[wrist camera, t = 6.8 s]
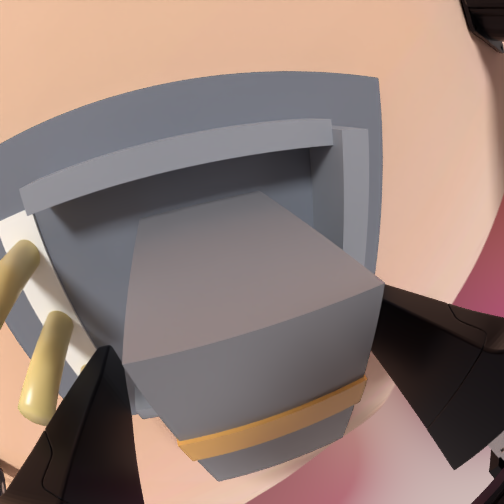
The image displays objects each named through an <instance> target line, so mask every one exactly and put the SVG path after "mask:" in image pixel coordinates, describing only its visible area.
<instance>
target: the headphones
mask: <svg viewBox="0 0 504 504" xmlns="http://www.w3.org/2000/svg"><path fill="white" fill-rule="evenodd" d="M5 491H6V484H5V478H4V473H3V471H2V469H1V468H0V496H1V495H2V494H3V493H4V492H5Z"/></svg>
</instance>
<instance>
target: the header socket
mask: <svg viewBox="0 0 504 504" xmlns="http://www.w3.org/2000/svg"><path fill="white" fill-rule="evenodd" d="M382 168H383V152H382V120H381V103H380V91H379V81H378V78H375V77H368V76H360V75H351V74H340V73H326V72H301V71H277V72H251V73H237V74H226V75H217V76H209V77H201V78H194V79H188V80H182V81H176V82H171V83H166V84H161V85H156V86H152V87H147V88H143V89H139V90H135V91H131V92H127V93H124V94H120V95H117V96H113V97H110V98H107V99H103V100H100V101H97V102H94V103H91V104H88V105H85V106H82V107H80V108H77V109H74V110H72V111H69V112H66V113H64V114H61V115H59V116H57V117H54V118H52V119H49V120H47V121H45V122H43V123H40V124H38V125H36V126H34V127H32V128H30V129H28V130H26V131H24V132H22V133H20V134H18V135H16V136H14V137H12V138H10V139H8V140H6V141H5V142H3V143H1V144H0V329H1V327H2V325H3V323H4V322H6V324H7V325H8V327H9V329H10V330H11V332H12V333H13V335H14V336H15V338H16V339H17V341H18V342H19V344H20V345H21V347H22V348H23V350H24V351H25V352H26V354H27V355H28V356H29V358H30V359H31V361H30V365H29V368H28V371H27V374H26V378H25V381H24V385H23V388H22V392H21V396H20V400H19V404H18V409H19V411H20V413H21V414H22V415H23V416H24V417H25V418H27V419H28V420H30V421H32V422H34V423H36V424H39V425H43V426H47V425H48V423H49V421H50V420H51V418H52V417H53V415H54V413H55V412H56V405H57V399H58V393H59V395H60V396H61V397H62V398H63V399H64V397H65V396H66V394H67V393H68V391H69V390H70V388H71V387H72V385H73V383H74V382H75V380H76V379H77V377H78V376H79V374H80V373H81V371H82V370H83V369H84V367H85V366H86V364H87V363H88V361H89V360H90V358H91V357H92V355H93V354H94V353H95V351H96V350H97V348H98V347H101V346H105V345H111V346H112V347H113V348H114V350H115V352H116V353H117V355H118V357H119V358H120V360H121V361H122V357H123V339H124V325H125V314H126V304H127V295H128V287H129V279H130V272H131V265H132V259H133V252H134V246H135V241H136V235H137V230H138V225H139V220H140V219H141V218H144V217H148V216H152V215H156V214H159V213H163V212H167V211H171V210H175V209H179V208H183V207H187V206H192V205H196V204H200V203H204V202H209V201H213V200H217V199H222V198H227V197H231V196H236V195H241V194H245V193H250V192H255V191H261V192H262V193H264V194H265V195H267V196H268V197H270V198H271V199H272V200H274V201H275V202H277V203H278V204H280V205H281V206H283V207H284V208H285V209H287V210H288V211H290V212H291V213H293V214H294V215H295V216H297V217H298V218H300V219H301V220H302V221H304V222H305V223H307V224H308V225H309V226H311V227H312V228H314V229H315V230H316V231H318V232H319V233H320V234H322V235H323V236H324V237H326V238H327V239H329V240H330V241H331V242H333V243H334V244H335V245H337V246H338V247H339V248H341V249H342V250H343V251H345V252H346V253H347V254H349V255H350V256H351V257H352V258H354V259H355V260H356V261H358V262H359V263H360V264H362V265H363V266H364V267H365V268H367V269H368V270H369V271H370V272H372V273H373V274H374V275H375V269H376V261H377V252H378V242H379V231H380V218H381V202H382ZM124 369H125V368H124ZM125 376H126V383H127V389H128V395H129V401H130V406H131V413H132V415H136V414H139V416H140V417H141V418H142V419H147V418H153V417H159V416H158V415H157V413H156V412H155V411H154V409H153V408H152V407H151V405H150V404H149V403H148V401H147V400H146V399H145V397H144V396H143V395H142V393H141V392H140V390H139V389H138V388H137V386H136V385H135V383H134V382H133V380H132V379H131V377H130V376H129V374H128V373H127V371H126V370H125Z"/></svg>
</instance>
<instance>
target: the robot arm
mask: <svg viewBox="0 0 504 504" xmlns="http://www.w3.org/2000/svg"><path fill="white" fill-rule="evenodd" d="M462 3H463V7H464V10H465V14H466V18H467V22H468V25H469V28H470V30H471V31H472V32H473V33H474V34H475V35H477V36H478V37H480V38H481V39H482V40H484V41H485V42H486V43H488V44H489V45H490V46H491V47H493V48H494V49H495V50H496V51H498V52H499V53H504V49H503V44H502V41H503V42H504V0H462ZM371 351H372V352H373V354H374V355H375V356H376V358H377V359H378V360H379V362H380V363H381V365H382V366H383V367H384V369H385V370H386V371H387V373H388V374H389V376H390V377H391V378H392V380H393V381H394V383H395V384H396V385H397V386H398V388H399V390H400V391H401V392H402V394H403V395H404V397H405V398H406V400H407V401H408V402H409V404H410V405H411V407H412V408H413V409H414V411H415V412H416V414H417V415H418V417H419V418H420V420H421V421H422V423H423V424H424V426H425V427H426V428H427V430H428V432H429V433H430V435H431V436H432V438H433V439H434V441H435V442H436V444H437V445H438V447H439V448H440V450H441V451H442V453H443V454H444V456H445V458H446V459H447V461H448V462H449V464H450V465H451V467H452V468H453V469H454V470H455V469H457V468H458V467H460V466H461V465H463V464H464V463H465V462H467V461H468V460H469V459H471V458H472V457H473V456H475V455H476V454H477V453H479V452H480V451H481V450H482V449H484V448H485V447H486V446H487V445H488V446H489V447H490V448H491V458H490V468H489V472H490V474H491V475H492V476H493V477H494V480H493V481H492V482H491V483H490V485H489V486H488V487H487V488H486V489H485V490H484V491H483V492H482V493H481V494H480V495H479V496H478V497H477V498H476V499H475V500H474V501H473V502H472V503H471V504H504V318H503V317H498V316H494V315H489V314H485V313H480V312H476V311H472V310H469V309H465V308H461V307H458V306H455V305H452V304H447V303H445V302H442V301H438V300H435V299H432V298H429V297H425V296H422V295H419V294H415V293H412V292H409V291H406V290H402V289H399V288H396V287H392V286H389V285H386V284H385V286H384V292H383V297H382V303H381V308H380V313H379V317H378V322H377V327H376V331H375V335H374V339H373V343H372V347H371ZM45 430H46V431H43V433H42V435H41V437H40V438H39V440H38V442H37V443H36V445H35V447H34V448H33V450H32V452H31V453H30V455H29V456H28V458H27V459H26V461H25V463H24V464H23V466H22V467H21V469H20V470H19V472H18V473H17V475H16V476H15V478H14V479H13V481H12V482H11V484H10V485H9V487H8V488H7V490H6V491H5V492H4V493H3V494H2V495H1V496H0V504H144V500H143V495H142V489H141V484H140V478H139V472H138V466H137V459H136V451H135V443H134V434H133V423H132V413H131V406H130V401H129V395H128V389H127V383H126V376H125V369H124V367H123V365H122V361H121V360H120V358H119V357H118V355H117V353H116V352H115V350H114V348H113V347H112V346H111V345H105V346H101V347H98V348H97V350H96V351H95V353H94V354H93V355H92V357H91V358H90V360H89V361H88V363H87V364H86V366H85V367H84V369H83V370H82V371H81V373H80V374H79V376H78V377H77V379H76V380H75V382H74V383H73V385H72V387H71V388H70V390H69V391H68V393H67V394H66V396H65V397H64V399H63V400H62V402H61V404H60V405H59V407H58V408H57V410H56V412H55V413H54V415H53V417H52V418H51V420H50V421H49V423H48V425H47V426H46V428H45Z"/></svg>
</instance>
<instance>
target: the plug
mask: <svg viewBox="0 0 504 504" xmlns="http://www.w3.org/2000/svg"><path fill="white" fill-rule="evenodd" d="M384 286H385V283H384V282H383V281H382V280H381V279H379V278H378V277H377V276H376V275H374V274H373V273H372V272H370V271H369V270H368V269H367V268H365V267H364V266H363V265H362V264H360V263H359V262H358V261H356V260H355V259H354V258H352V257H351V256H350V255H349V254H347V253H346V252H345V251H343V250H342V249H341V248H339V247H338V246H337V245H335V244H334V243H333V242H331V241H330V240H329V239H327V238H326V237H324V236H323V235H322V234H320V233H319V232H318V231H316V230H315V229H314V228H312V227H311V226H309V225H308V224H307V223H305V222H304V221H302V220H301V219H300V218H298V217H297V216H295V215H294V214H293V213H291V212H290V211H288V210H287V209H285V208H284V207H283V206H281V205H280V204H278V203H277V202H275V201H274V200H272V199H271V198H270V197H268V196H267V195H265V194H264V193H262V192H261V191H255V192H250V193H245V194H241V195H236V196H231V197H227V198H222V199H217V200H213V201H209V202H204V203H200V204H196V205H192V206H187V207H183V208H179V209H175V210H171V211H167V212H163V213H159V214H156V215H152V216H148V217H144V218H141V219H140V220H139V225H138V230H137V235H136V241H135V246H134V252H133V259H132V265H131V272H130V279H129V287H128V295H127V304H126V314H125V325H124V339H123V357H122V365H123V367H124V368H125V370H126V371H127V373H128V374H129V376H130V377H131V379H132V380H133V382H134V383H135V385H136V386H137V388H138V389H139V390H140V392H141V393H142V395H143V396H144V397H145V399H146V400H147V401H148V403H149V404H150V405H151V407H152V408H153V409H154V411H155V412H156V413H157V415H158V416H159V417H160V418H161V420H162V421H163V422H164V423H165V425H166V426H167V427H168V428H169V429H170V431H171V432H172V433H173V434H174V435H175V437H176V438H177V443H178V446H179V447H180V448H181V449H182V451H183V452H184V453H185V454H186V455H187V456H188V457H189V458H190V459H191V460H192V461H198V462H199V463H200V464H201V465H202V466H203V467H204V468H205V469H206V470H207V471H208V472H209V473H210V474H211V475H212V476H213V477H214V478H215V479H216V480H217V481H218V482H219V481H223V480H227V479H231V478H235V477H239V476H243V475H247V474H250V473H253V472H257V471H260V470H263V469H266V468H269V467H272V466H275V465H278V464H281V463H284V462H287V461H289V460H292V459H295V458H297V457H300V456H302V455H305V454H307V453H310V452H312V451H314V450H317V449H319V448H321V447H323V446H326V445H328V444H330V443H332V442H334V441H336V440H338V439H340V438H342V437H343V435H344V432H345V430H346V427H347V425H348V422H349V419H350V416H351V414H352V411H353V408H354V405H355V404H357V403H359V402H360V400H361V397H362V395H363V392H364V389H365V386H366V383H367V380H368V379H367V378H366V376H365V375H364V373H365V370H366V366H367V363H368V359H369V355H370V351H371V347H372V343H373V339H374V335H375V331H376V327H377V322H378V317H379V313H380V308H381V303H382V297H383V292H384Z"/></svg>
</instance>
